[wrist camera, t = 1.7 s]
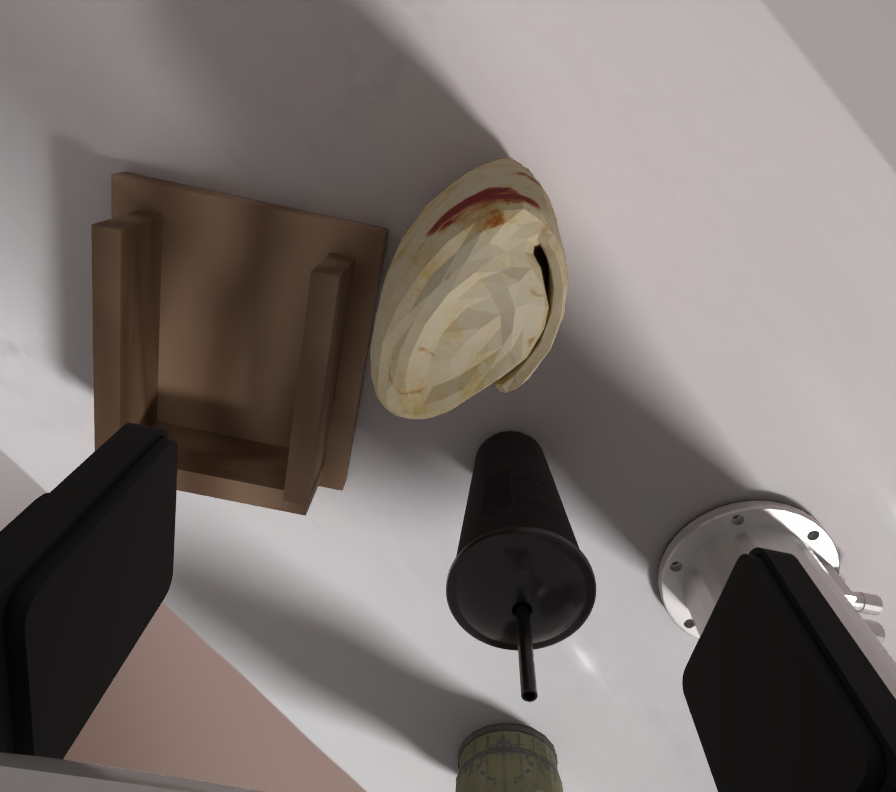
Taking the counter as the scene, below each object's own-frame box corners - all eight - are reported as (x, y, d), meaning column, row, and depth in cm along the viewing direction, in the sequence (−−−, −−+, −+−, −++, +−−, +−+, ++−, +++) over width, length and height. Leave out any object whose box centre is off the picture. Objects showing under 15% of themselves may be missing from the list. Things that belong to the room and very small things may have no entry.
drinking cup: (438, 485, 47) (412, 726, 29) (482, 396, 44) (483, 600, 26) (535, 522, 48) (569, 779, 30) (584, 437, 45) (655, 663, 27)
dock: (388, 229, 40) (372, 251, 34) (346, 479, 47) (327, 533, 41) (124, 171, 39) (61, 183, 33) (122, 434, 47) (70, 482, 41)
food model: (476, 124, 38) (473, 143, 19) (567, 196, 39) (646, 277, 21) (382, 263, 41) (303, 391, 23) (469, 324, 42) (461, 491, 24)
